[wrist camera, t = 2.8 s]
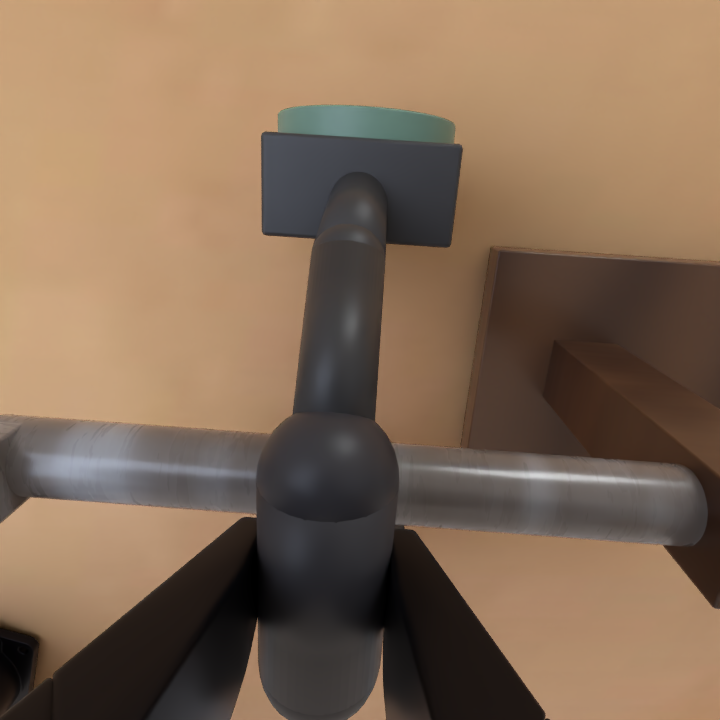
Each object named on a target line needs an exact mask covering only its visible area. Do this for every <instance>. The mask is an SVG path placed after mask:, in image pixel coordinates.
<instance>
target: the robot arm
mask: <svg viewBox="0 0 720 720" xmlns="http://www.w3.org/2000/svg"><path fill="white" fill-rule="evenodd" d="M257 618H258V596H257V518H251V517H243V518H241V519H240V520H238V521H237V522H236V523H235V524H234V525H232V526H231V527H230V528H229V529H227V530H226V531H225V532H224V533H223V534H221V535H220V536H219V537H218V538H217V539H215V540H214V541H213V542H212V543H211V544H209V545H208V546H207V547H206V548H205V549H203V550H202V551H201V552H200V553H198V554H197V555H196V556H195V557H194V558H192V559H191V560H190V561H189V562H188V563H186V564H185V565H184V566H183V567H182V568H180V569H179V570H178V571H177V572H175V573H174V574H173V575H172V576H171V577H169V578H168V579H167V580H166V581H165V582H163V583H162V584H161V585H160V586H159V587H157V588H156V589H155V590H154V591H152V592H151V593H150V594H149V595H148V596H146V597H145V598H144V599H143V600H142V601H140V602H139V603H138V604H137V605H136V606H134V607H133V608H132V609H131V610H129V611H128V612H127V613H126V614H125V615H123V616H122V617H121V618H120V619H119V620H117V621H116V622H115V623H114V624H113V625H111V626H110V627H109V628H108V629H107V630H105V631H104V632H103V633H102V634H100V635H99V636H98V637H97V638H96V639H94V640H93V641H92V642H91V643H90V644H88V645H87V646H86V647H85V648H84V649H82V650H81V651H80V652H79V653H77V654H76V655H75V656H74V657H73V658H71V659H70V660H69V661H68V662H67V663H65V664H64V665H63V666H62V667H61V668H59V669H58V670H57V671H56V672H55V673H54V674H53V680H52V679H51V678H47V679H46V680H44V681H43V682H42V683H41V684H40V685H38V686H37V687H36V688H35V689H34V690H33V685H34V678H35V671H36V664H37V656H38V649H39V643H38V641H37V640H36V639H35V638H33V637H31V636H27V635H24V634H20V633H16V632H12V631H9V630H5V629H1V628H0V720H230V719H231V716H232V713H233V710H234V707H235V704H236V701H237V698H238V694H239V691H240V688H241V685H242V682H243V678H244V675H245V672H246V668H247V664H248V659H249V655H250V651H251V646H252V641H253V637H254V632H255V627H256V622H257ZM383 687H384V700H385V711H386V720H550V719H545V712H544V710H543V709H542V708H541V706H540V705H539V703H538V702H537V701H536V699H535V698H534V697H533V695H532V694H531V692H530V691H529V690H528V688H527V687H526V685H525V684H524V683H523V681H522V680H521V678H520V677H519V676H518V674H517V673H516V671H515V670H514V669H513V667H512V666H511V664H510V663H509V662H508V660H507V659H506V657H505V656H504V655H503V653H502V652H501V650H500V649H499V648H498V646H497V645H496V643H495V642H494V641H493V639H492V638H491V636H490V635H489V634H488V632H487V631H486V629H485V628H484V627H483V625H482V624H481V622H480V621H479V620H478V618H477V617H476V615H475V614H474V613H473V611H472V610H471V608H470V607H469V606H468V604H467V603H466V601H465V600H464V599H463V597H462V596H461V595H460V593H459V592H458V590H457V589H456V588H455V586H454V585H453V583H452V582H451V581H450V579H449V578H448V576H447V575H446V574H445V572H444V571H443V569H442V568H441V567H440V565H439V564H438V562H437V561H436V560H435V558H434V557H433V555H432V554H431V553H430V551H429V550H428V548H427V547H426V546H425V544H424V543H423V541H422V540H421V539H420V537H419V536H418V534H417V533H416V532H415V531H413V530H408V529H394V539H393V548H392V553H391V560H390V569H389V579H388V588H387V598H386V607H385V616H384V626H383Z"/></svg>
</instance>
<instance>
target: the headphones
mask: <svg viewBox="0 0 720 720" xmlns="http://www.w3.org/2000/svg"><path fill="white" fill-rule="evenodd" d="M454 137H455V124H454V123H453V122H451V121H449V120H447V119H444V118H441V117H438V116H434V115H430V114H425V113H420V112H414V111H408V110H400V109H392V108H382V107H370V106H354V105H310V106H298V107H292V108H287V109H284V110H282V111H280V112H279V114H278V132H263V133H262V135H261V178H262V232H263V234H264V235H268V236H283V237H297V238H312V239H315V242H314V245H313V248H312V252H311V260H310V268H309V277H308V286H307V294H306V303H305V311H304V320H303V329H302V337H301V346H300V354H299V363H298V372H297V380H296V389H295V398H294V406H293V415H292V416H290V417H288V418H287V419H285V420H284V421H283V422H282V423H281V424H280V425H279V426H278V427H277V428H276V429H275V430H274V431H273V432H272V434H271V435H270V437H269V439H268V440H267V442H266V443H265V445H264V447H263V449H262V452H261V455H260V458H259V462H258V465H257V475H256V515H257V596H258V664H259V672H260V678H261V682H262V685H263V689H264V691H265V693H266V695H267V697H268V698H269V700H270V702H271V704H272V705H273V707H274V708H275V709H276V710H277V711H278V712H279V713H280V714H281V715H282V716H284V717H285V718H286V719H288V720H347V719H348V718H350V717H351V716H352V715H354V714H355V713H356V712H357V711H358V710H359V709H360V708H361V707H362V706H363V705H364V703H365V702H366V700H367V698H368V697H369V695H370V693H371V692H372V690H373V688H374V685H375V682H376V679H377V676H378V672H379V668H380V661H381V652H382V642H383V626H384V616H385V607H386V598H387V588H388V579H389V569H390V560H391V553H392V548H393V539H394V529H404V526H403V525H395V520H396V511H397V501H398V492H399V466H398V462H397V457H396V453H395V450H394V448H393V446H392V444H391V442H390V440H389V438H388V436H387V435H386V433H385V432H384V431H383V430H382V429H381V427H380V426H379V425H378V424H377V423H376V422H375V410H376V395H377V380H378V365H379V350H380V335H381V319H382V304H383V289H384V274H385V255H386V244H399V245H414V246H428V247H443V248H447V247H450V245H451V240H452V232H453V224H454V216H455V208H456V200H457V192H458V184H459V176H460V168H461V160H462V152H463V148H462V145H460V144H454Z"/></svg>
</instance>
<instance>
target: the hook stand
mask: <svg viewBox="0 0 720 720" xmlns="http://www.w3.org/2000/svg"><path fill="white" fill-rule="evenodd" d="M270 435H271V434H267V433H253V432H239V431H226V430H212V429H199V428H185V427H171V426H158V425H144V424H131V423H117V422H103V421H90V420H76V419H63V418H49V417H36V416H22V415H6V414H5V415H0V523H2V522H3V521H4V520H5V519H6V518H7V517H8V516H10V515H11V514H12V513H13V512H14V511H15V510H16V509H18V508H19V507H20V506H21V505H22V504H23V503H24V502H26V501H27V500H28V499H29V498H30V497H34V498H47V499H60V500H73V501H86V502H100V503H113V504H126V505H139V506H152V507H166V508H179V509H192V510H205V511H218V512H232V513H245V514H256V475H257V465H258V462H259V458H260V455H261V452H262V449H263V447H264V445H265V443H266V442H267V440H268V439H269V437H270ZM391 444H392V446H393V448H394V450H395V453H396V457H397V462H398V466H399V492H398V501H397V511H396V520H395V525H403V526H416V527H430V528H443V529H456V530H469V531H482V532H496V533H509V534H522V535H535V536H548V537H562V538H575V539H588V540H601V541H614V542H628V543H641V544H654V545H663V546H664V547H665V549H666V550H667V551H668V552H669V554H670V555H671V556H672V557H673V559H674V560H675V561H676V562H677V564H678V565H679V566H680V567H681V569H682V570H683V571H684V572H685V573H686V575H687V576H688V577H689V578H690V580H691V581H692V582H693V583H694V585H695V586H696V587H697V588H698V590H699V591H700V592H701V593H702V594H703V596H704V597H705V598H706V599H707V601H708V602H709V603H710V604H711V606H712V607H714V608H716V609H720V262H716V261H701V260H686V259H672V258H657V257H642V256H627V255H613V254H598V253H583V252H569V251H554V250H539V249H525V248H510V247H495V246H492V247H491V249H490V256H489V263H488V269H487V276H486V282H485V289H484V295H483V302H482V308H481V315H480V322H479V328H478V335H477V341H476V348H475V354H474V361H473V367H472V374H471V381H470V387H469V394H468V400H467V407H466V413H465V420H464V426H463V433H462V440H461V448H457V447H443V446H430V445H416V444H403V443H391Z"/></svg>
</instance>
